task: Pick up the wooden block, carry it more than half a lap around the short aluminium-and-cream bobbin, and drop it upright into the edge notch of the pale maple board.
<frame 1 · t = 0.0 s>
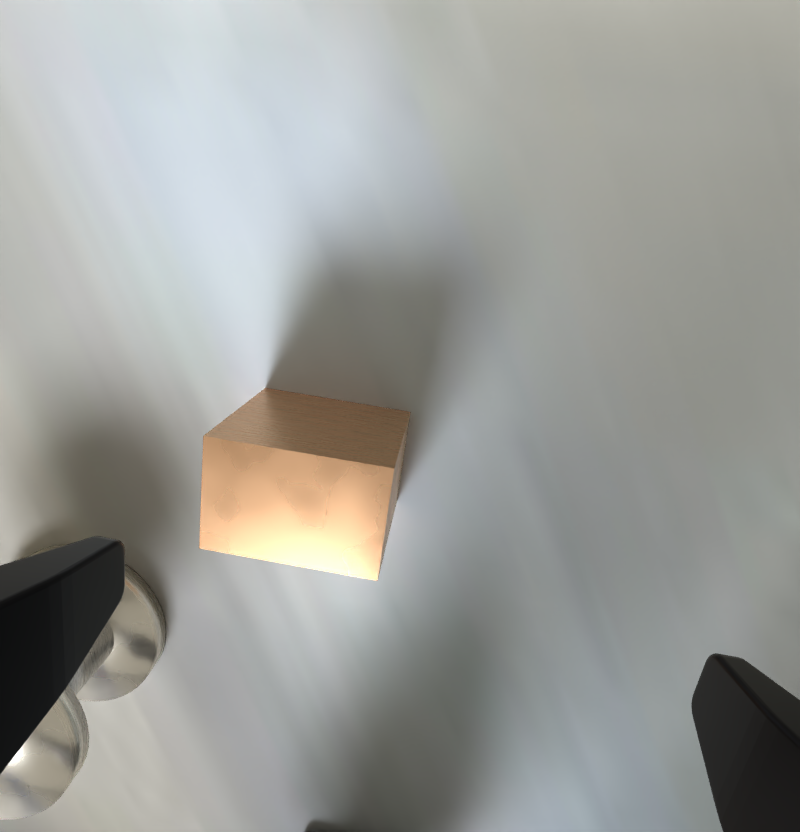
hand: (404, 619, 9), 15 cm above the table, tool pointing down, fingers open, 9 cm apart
bobbin: (86, 618, 28), on the table
wooden block: (332, 445, 24), on the table
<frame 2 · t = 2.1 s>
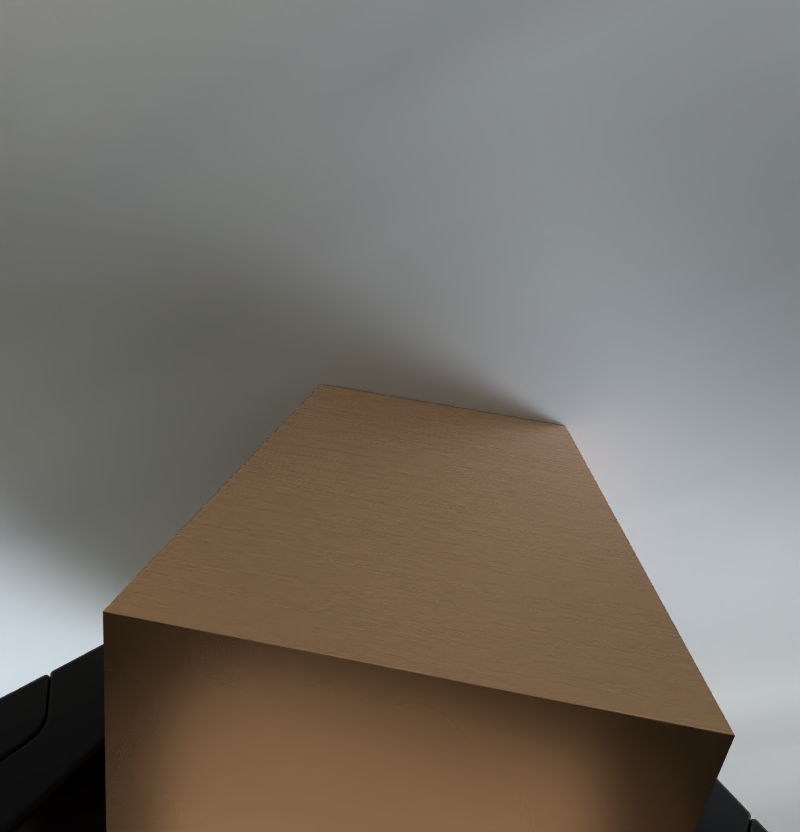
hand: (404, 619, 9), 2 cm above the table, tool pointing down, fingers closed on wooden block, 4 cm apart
wooden block: (413, 564, 10), on the table, touching gripper
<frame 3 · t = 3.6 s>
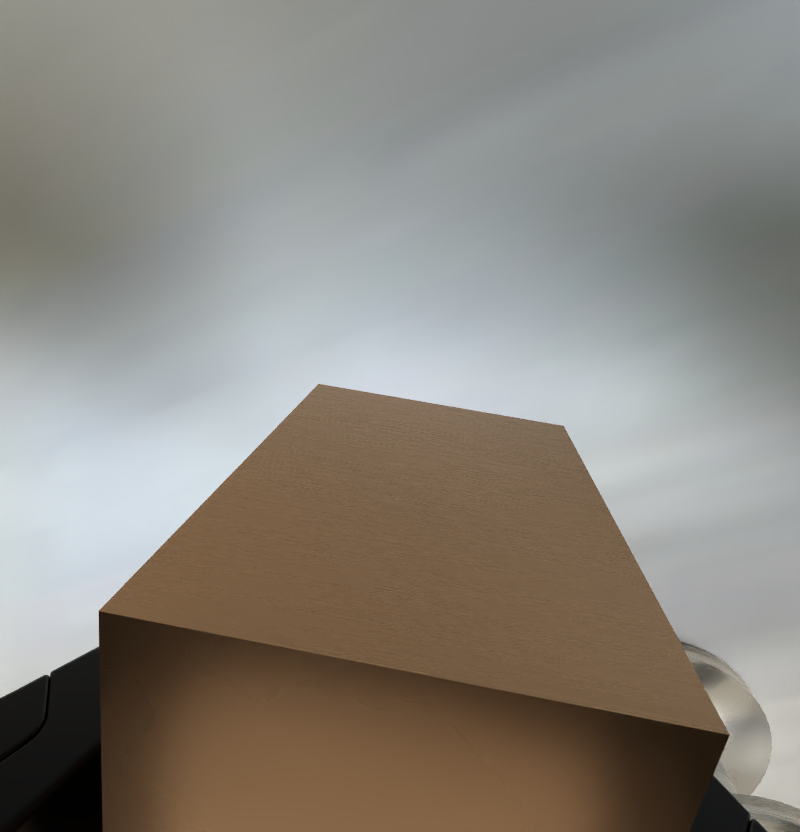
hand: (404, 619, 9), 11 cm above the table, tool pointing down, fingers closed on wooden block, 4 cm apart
bobbin: (645, 728, 22), on the table
wooden block: (411, 564, 10), point 9 cm above the table, touching gripper
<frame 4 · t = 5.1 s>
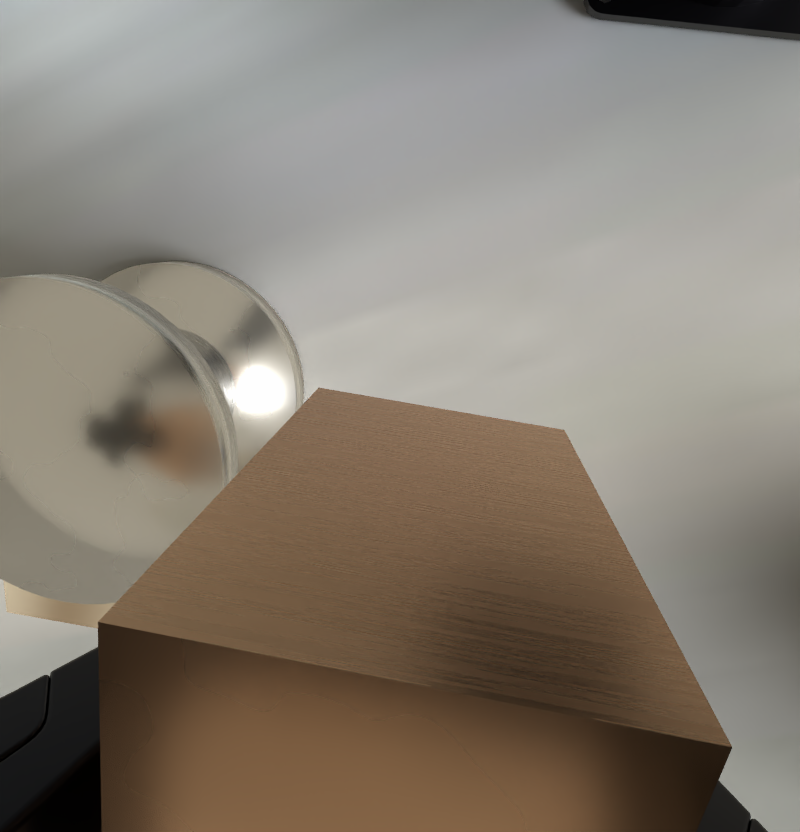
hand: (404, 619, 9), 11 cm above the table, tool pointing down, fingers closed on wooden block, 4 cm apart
notched board: (234, 690, 24), on the table
bobbin: (190, 381, 20), on the table
wooden block: (411, 568, 10), point 10 cm above the table, touching gripper
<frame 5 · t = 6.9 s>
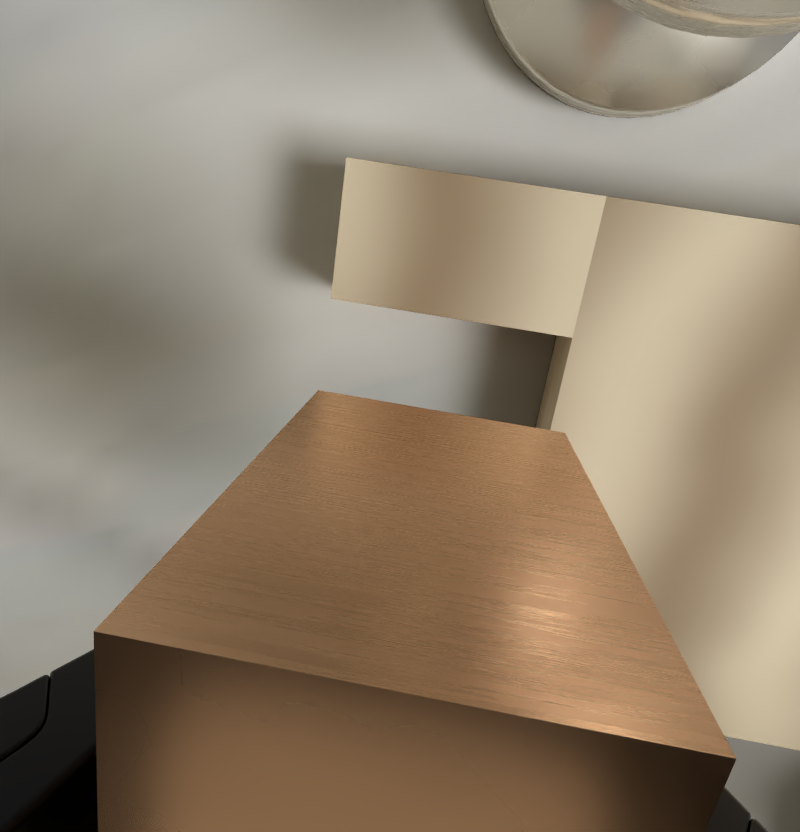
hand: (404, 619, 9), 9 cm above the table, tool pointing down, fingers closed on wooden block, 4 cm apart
notched board: (597, 462, 17), on the table
wooden block: (411, 571, 10), point 7 cm above the table, touching gripper
when the fingers open (3 cm above the table, at t = 8.1 s): wooden block drops 2 cm, on the table.
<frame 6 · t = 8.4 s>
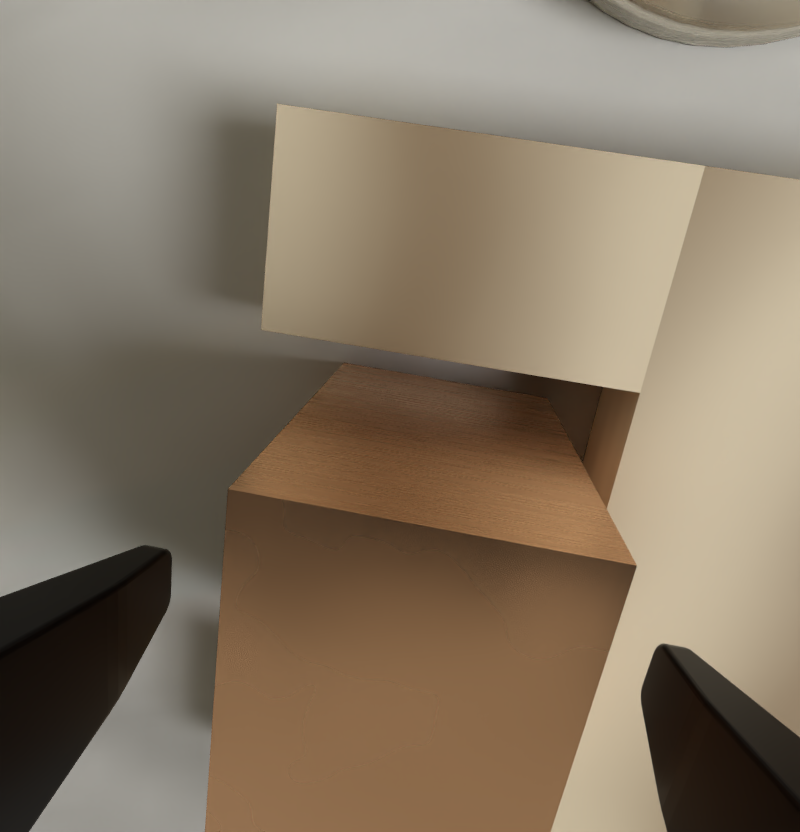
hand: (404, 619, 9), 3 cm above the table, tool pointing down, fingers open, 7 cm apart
notched board: (659, 558, 12), on the table
wooden block: (419, 515, 12), on the table
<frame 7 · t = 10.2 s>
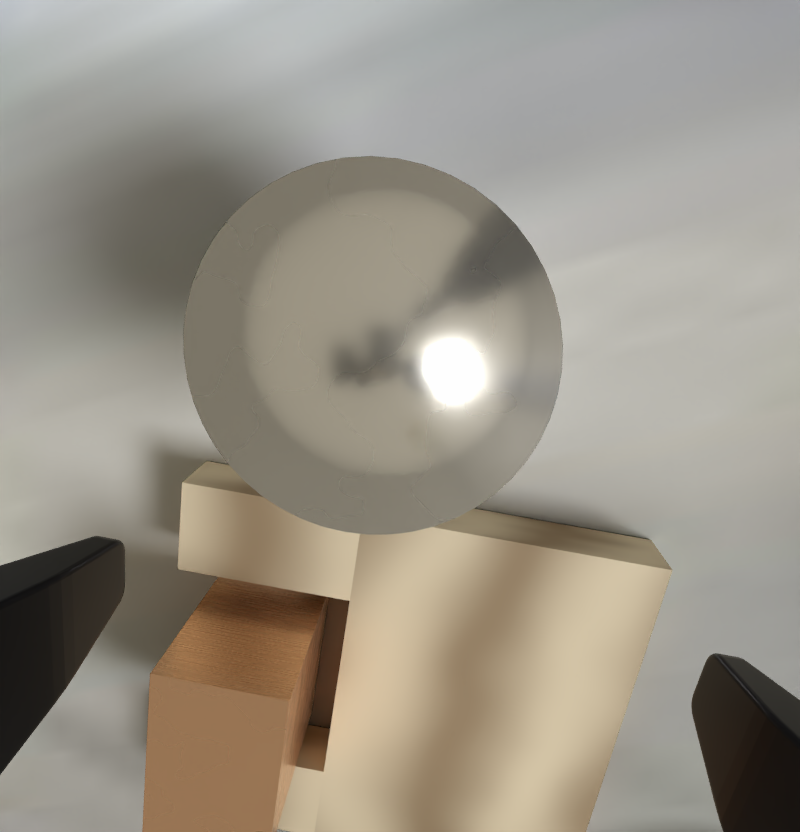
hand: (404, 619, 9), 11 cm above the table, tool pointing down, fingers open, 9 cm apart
notched board: (395, 662, 22), on the table
bobbin: (396, 323, 19), on the table
wooden block: (271, 639, 23), on the table
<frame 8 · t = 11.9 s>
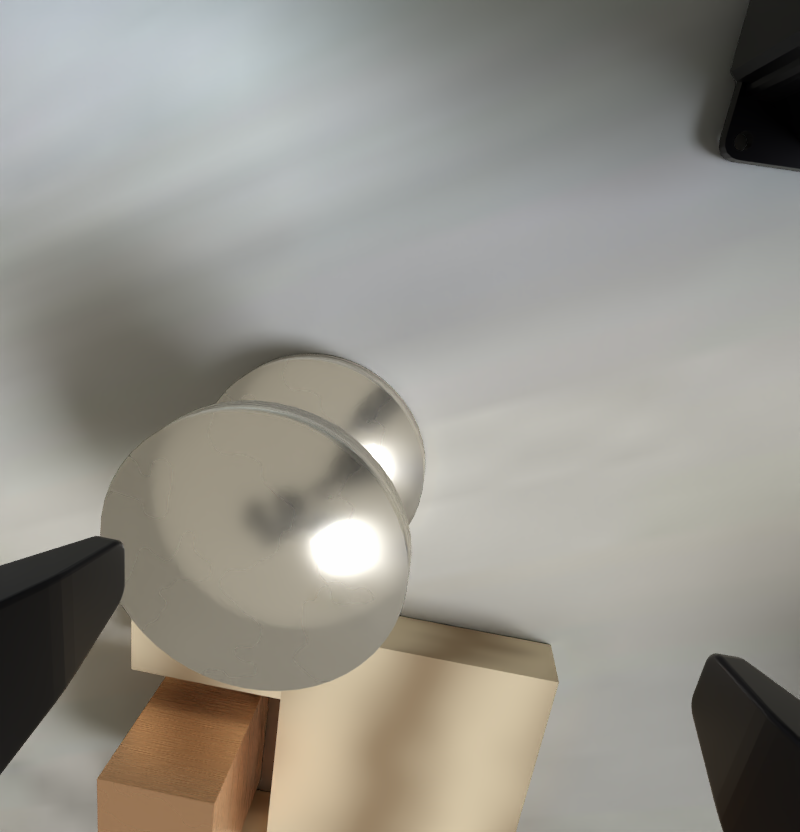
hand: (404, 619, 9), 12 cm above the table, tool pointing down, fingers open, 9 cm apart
notched board: (331, 740, 25), on the table
bobbin: (317, 460, 21), on the table
wooden block: (222, 717, 26), on the table
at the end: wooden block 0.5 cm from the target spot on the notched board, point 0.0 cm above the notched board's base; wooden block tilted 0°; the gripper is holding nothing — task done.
